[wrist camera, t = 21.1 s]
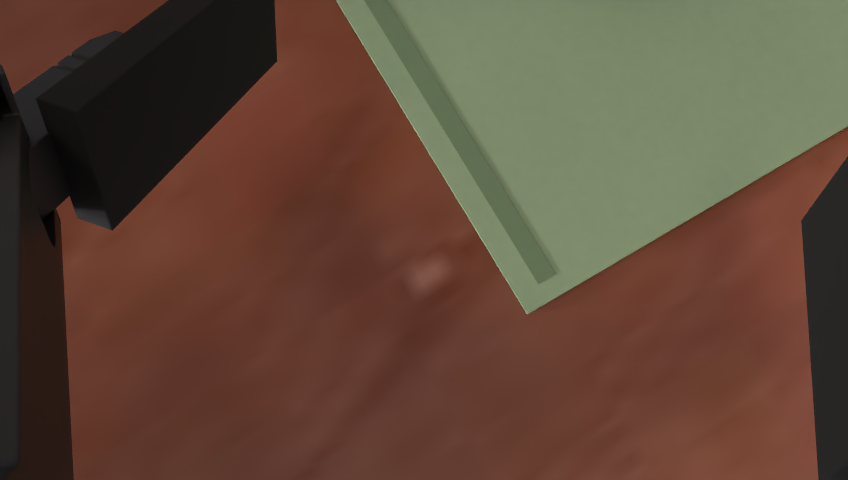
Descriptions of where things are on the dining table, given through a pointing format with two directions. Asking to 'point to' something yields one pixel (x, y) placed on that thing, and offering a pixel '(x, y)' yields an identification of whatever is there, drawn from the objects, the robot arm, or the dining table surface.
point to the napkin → (604, 113)
